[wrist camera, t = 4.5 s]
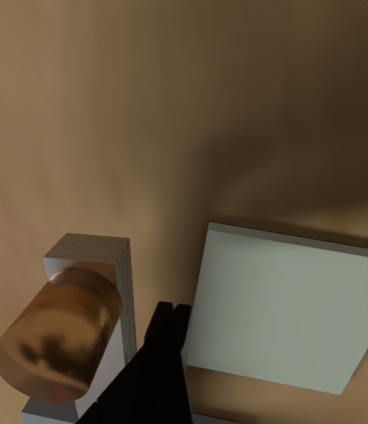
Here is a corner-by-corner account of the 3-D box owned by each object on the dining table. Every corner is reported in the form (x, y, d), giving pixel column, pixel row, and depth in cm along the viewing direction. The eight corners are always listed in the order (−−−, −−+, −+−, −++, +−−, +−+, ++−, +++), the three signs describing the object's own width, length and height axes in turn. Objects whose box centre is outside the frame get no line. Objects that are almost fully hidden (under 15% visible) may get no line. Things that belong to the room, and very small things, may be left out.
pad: (406, 255, 10) (417, 265, 10) (335, 381, 13) (340, 395, 13) (208, 221, 11) (208, 230, 10) (184, 352, 14) (182, 363, 13)
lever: (162, 199, 10) (99, 333, 5) (165, 435, 17) (137, 606, 11) (92, 194, 11) (-39, 317, 5) (121, 429, 17) (74, 592, 12)
